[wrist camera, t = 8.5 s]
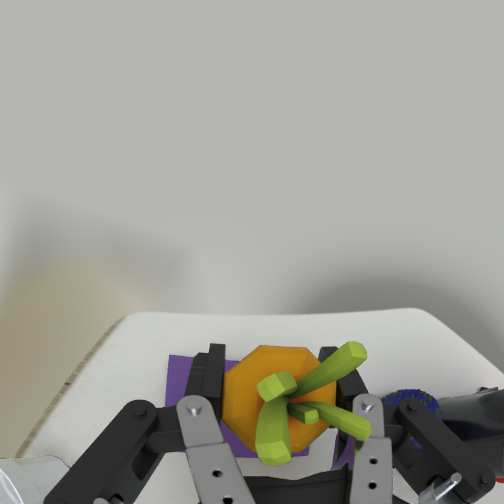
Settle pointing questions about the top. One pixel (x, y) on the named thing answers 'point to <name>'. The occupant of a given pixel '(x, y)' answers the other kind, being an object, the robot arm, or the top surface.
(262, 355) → the carrot
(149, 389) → the top surface
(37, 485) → the cup
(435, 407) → the blue green-speckled voxel part
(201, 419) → the robot arm
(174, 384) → the cloth
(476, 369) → the top surface
